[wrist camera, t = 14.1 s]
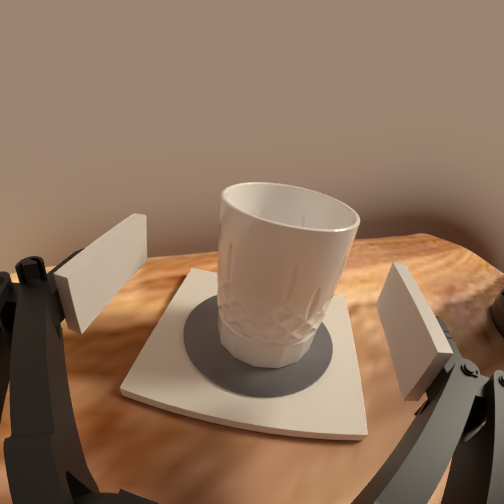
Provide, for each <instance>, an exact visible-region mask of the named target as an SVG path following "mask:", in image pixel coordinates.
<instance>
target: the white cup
mask: <svg viewBox="0 0 504 504" xmlns="http://www.w3.org/2000/svg"><path fill="white" fill-rule="evenodd" d="M359 224H360V218H359V216H358V214H357V213H356V212H355V211H354V210H353V209H352V208H351V207H349V206H348V205H346V204H344V203H343V202H341V201H339V200H337V199H334V198H332V197H330V196H327V195H325V194H322V193H319V192H316V191H312V190H309V189H305V188H301V187H296V186H291V185H284V184H277V183H264V182H251V183H241V184H236V185H232V186H229V187H227V188H226V189H224V190H223V191H222V193H221V205H220V225H219V247H218V268H217V284H218V286H217V304H218V332H219V337H220V342H221V344H222V345H223V346H224V347H225V348H226V349H227V350H228V352H229V353H230V354H231V355H232V356H233V357H234V358H236V359H238V360H241V361H243V362H245V363H247V364H250V365H252V366H254V367H265V368H280V367H283V366H287V365H290V364H293V363H296V362H298V361H299V359H300V358H301V357H302V356H303V355H304V354H305V353H306V352H307V351H308V350H309V348H310V345H311V343H312V341H313V338H314V336H315V334H316V331H317V329H318V327H319V326H320V324H321V322H322V320H323V318H324V316H325V314H326V311H327V308H328V306H329V304H330V302H331V300H332V298H333V295H334V293H335V291H336V288H337V285H338V283H339V280H340V278H341V275H342V272H343V269H344V267H345V264H346V261H347V258H348V256H349V253H350V250H351V247H352V244H353V241H354V238H355V236H356V233H357V230H358V227H359Z"/></svg>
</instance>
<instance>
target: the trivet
mask: <svg viewBox="0 0 504 504" xmlns="http://www.w3.org/2000/svg"><path fill="white" fill-rule="evenodd" d="M217 286H218V284H217V273H215V272H210V271H205V270H200V269H195V268H192V269H191V270H190V272H189V274H188V275H187V277H186V278H185V280H184V281H183V283H182V285H181V286H180V288H179V289H178V291H177V293H176V294H175V296H174V297H173V299H172V301H171V302H170V304H169V305H168V307H167V309H166V310H165V312H164V314H163V315H162V317H161V318H160V320H159V322H158V323H157V325H156V327H155V328H154V330H153V332H152V333H151V335H150V337H149V338H148V340H147V342H146V343H145V345H144V347H143V348H142V350H141V352H140V353H139V355H138V357H137V359H136V360H135V362H134V364H133V365H132V367H131V369H130V371H129V372H128V374H127V376H126V378H125V379H124V381H123V383H122V385H121V386H120V391H121V394H122V395H123V396H126V397H128V398H131V399H134V400H137V401H140V402H142V403H145V404H148V405H151V406H154V407H157V408H161V409H164V410H167V411H170V412H174V413H177V414H181V415H184V416H188V417H192V418H195V419H199V420H203V421H208V422H212V423H216V424H221V425H225V426H230V427H235V428H240V429H246V430H251V431H257V432H263V433H270V434H277V435H285V436H293V437H303V438H315V439H329V440H359V441H362V440H363V439H364V438H365V437H366V436H367V435H368V431H367V423H366V414H365V407H364V399H363V392H362V386H361V379H360V373H359V367H358V361H357V355H356V350H355V344H354V339H353V333H352V328H351V323H350V318H349V314H348V309H347V304H346V299H345V296H339V295H333V298H332V300H331V302H330V304H329V306H328V308H327V311H326V314H325V316H324V318H323V320H322V322H321V324H320V326H319V327H318V329H317V331H316V334H315V336H314V338H313V341H312V343H311V345H310V348H309V350H308V351H307V352H306V353H305V354H304V355H303V356H302V357H301V358H300V359H299V361H298V362H296V363H293V364H290V365H287V366H283V367H280V368H265V367H254V366H252V365H250V364H247V363H245V362H243V361H241V360H238V359H236V358H234V357H233V356H232V355H231V354H230V353H229V352H228V350H227V349H226V348H225V347H224V346H223V345H222V344H221V342H220V337H219V332H218V304H217Z"/></svg>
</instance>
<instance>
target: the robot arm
mask: <svg viewBox="0 0 504 504" xmlns="http://www.w3.org/2000/svg"><path fill="white" fill-rule="evenodd" d="M146 244H147V243H146V215H142V214H135V213H134V214H132V215H131V216H129V217H128V218H126V219H125V220H124V221H122V222H121V223H119V224H118V225H116V226H115V227H114V228H112V229H111V230H109V231H108V232H107V233H105V234H104V235H102V236H101V237H100V238H98V239H97V240H96V241H94V242H93V243H92V244H90V245H89V246H88V247H86V248H84V249H81V250H79V251H76V252H74V253H73V254H72V255H70V256H69V257H68V259H65V260H64V261H62V263H60V264H59V265H57V266H56V267H55V268H54V269H52V270H51V271H50V272H49V273H47V274H46V270H45V266H44V261H43V259H42V258H41V257H37V256H32V257H27V258H25V259H22V260H21V261H20V262H18V263H17V265H16V266H15V268H16V272H17V275H18V279H19V282H20V283H12V281H11V278H10V274H9V273H7V272H0V422H1V416H2V411H3V406H4V401H5V396H6V392H7V388H8V384H9V380H10V418H11V437H9V438H5V440H4V448H3V450H4V458H5V465H6V472H7V478H8V483H9V488H10V493H11V497H12V502H13V504H158V503H156V502H153V501H151V500H148V499H145V498H142V497H140V496H137V495H134V494H132V493H129V492H127V491H125V490H122V489H120V491H119V494H116V493H100V492H99V489H98V487H97V485H96V483H95V481H94V479H93V477H92V475H91V474H90V472H89V470H88V467H87V464H86V461H85V458H84V454H83V451H82V447H81V443H80V439H79V435H78V431H77V427H76V423H75V418H74V413H73V408H72V403H71V398H70V392H69V386H68V379H67V372H66V364H65V356H64V345H63V333H62V327H61V324H60V323H61V322H62V321H63V320H64V319H66V322H67V326H68V329H70V330H73V331H75V332H77V333H80V334H83V332H84V331H85V330H86V329H87V328H88V326H89V325H90V324H91V323H92V322H93V320H94V319H95V318H96V317H97V316H98V315H99V313H100V312H101V311H102V310H103V309H104V308H105V306H106V305H107V304H108V303H109V302H110V301H111V300H112V298H113V297H114V296H115V295H116V294H117V293H118V292H119V291H120V289H121V288H122V287H123V286H124V285H125V284H126V283H127V282H128V281H129V280H130V278H131V277H132V276H133V275H134V274H135V273H136V272H137V271H138V270H139V269H140V268H141V267H142V265H143V264H144V263H145V262H146V261H147V245H146ZM376 307H377V310H378V313H379V316H380V319H381V323H382V326H383V329H384V332H385V336H386V339H387V342H388V346H389V349H390V353H391V356H392V360H393V363H394V367H395V371H396V375H397V378H398V382H399V386H400V390H401V395H402V399H403V401H418V400H419V399H420V398H421V396H422V395H423V394H424V393H425V392H426V394H427V397H428V399H427V400H426V401H425V403H424V404H423V405H422V406H421V407H420V408H419V409H418V411H417V412H416V413H415V414H414V415H417V416H416V417H415V419H414V420H413V422H412V424H411V425H410V427H409V428H408V430H407V432H406V433H405V435H404V436H403V438H402V439H401V441H400V442H399V444H398V445H397V446H396V448H395V449H394V451H393V452H392V454H391V455H390V456H389V458H388V459H387V460H386V462H385V463H384V464H383V466H382V467H381V468H380V470H379V471H378V472H377V473H376V475H375V476H374V477H373V478H372V480H371V481H370V482H369V483H368V484H367V486H366V487H365V488H364V489H363V490H362V491H361V493H360V494H359V495H358V496H357V497H356V498H355V499H354V500H353V502H352V503H351V504H427V503H428V501H429V499H430V498H431V496H432V494H433V492H434V491H435V489H436V487H437V485H438V483H439V482H440V480H441V478H442V476H443V474H444V472H445V470H446V468H447V466H448V464H449V462H450V460H451V457H452V455H453V457H452V462H451V466H450V471H449V475H448V479H447V483H446V487H445V491H444V494H443V498H442V501H441V504H504V371H502V370H496V371H495V373H494V374H493V375H492V376H491V378H489V377H486V376H482V375H480V371H479V369H478V367H477V366H476V365H475V364H474V363H473V362H472V361H470V360H468V359H465V358H462V356H461V354H460V352H459V350H458V348H457V346H456V344H455V342H454V340H453V339H452V336H451V334H450V333H449V330H448V328H447V327H446V325H445V323H444V322H443V321H442V320H441V319H440V318H439V317H438V316H435V315H434V313H433V311H432V310H431V308H430V306H429V304H428V302H427V301H426V299H425V297H424V295H423V294H422V292H421V290H420V288H419V287H418V285H417V283H416V281H415V280H414V278H413V276H412V275H411V273H410V271H409V270H408V268H407V267H406V265H405V264H400V263H395V262H393V263H392V266H391V269H390V271H389V274H388V276H387V279H386V282H385V284H384V286H383V289H382V291H381V294H380V296H379V299H378V301H377V303H376ZM491 313H492V317H493V319H494V322H495V324H496V325H497V327H498V329H499V330H500V332H501V333H502V334H503V336H504V289H502V290H501V291H500V292H499V294H498V296H497V298H496V299H495V301H494V303H493V305H492V308H491ZM485 421H486V422H485Z"/></svg>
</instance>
